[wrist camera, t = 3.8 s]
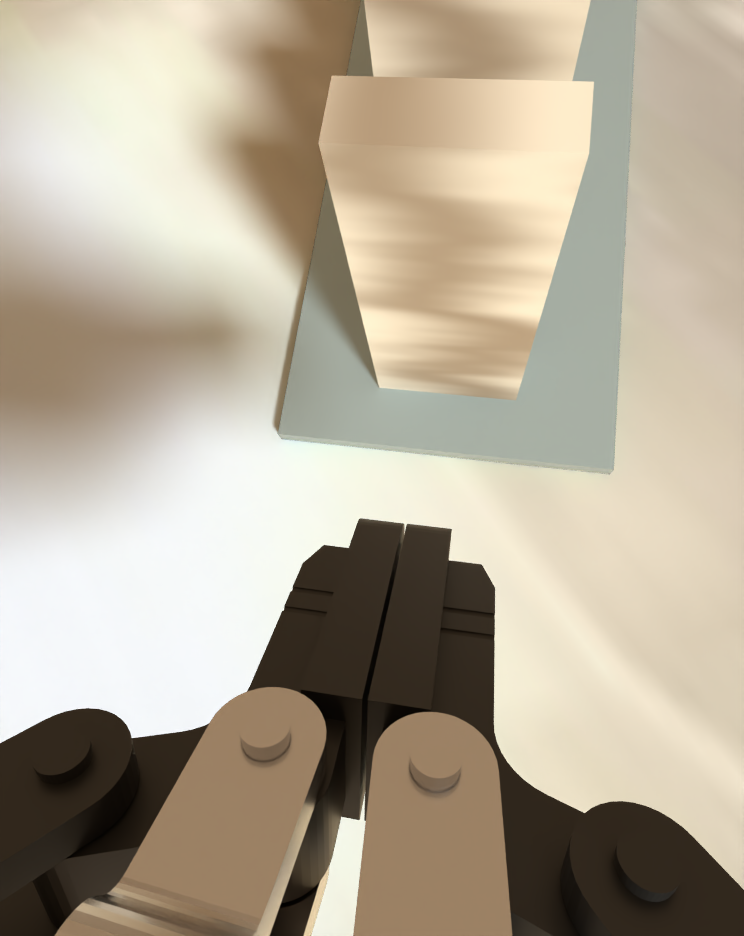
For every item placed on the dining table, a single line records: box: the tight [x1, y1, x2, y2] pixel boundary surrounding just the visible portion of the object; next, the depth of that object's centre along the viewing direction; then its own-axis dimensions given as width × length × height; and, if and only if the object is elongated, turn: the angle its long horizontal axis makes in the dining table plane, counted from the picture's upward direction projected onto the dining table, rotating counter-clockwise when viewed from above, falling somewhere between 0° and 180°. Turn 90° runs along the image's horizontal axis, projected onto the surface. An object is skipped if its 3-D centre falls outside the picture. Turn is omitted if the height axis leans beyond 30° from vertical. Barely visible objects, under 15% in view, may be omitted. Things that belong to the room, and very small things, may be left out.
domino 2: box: [318, 76, 594, 400], centre depth 18 cm, size 5×2×12 cm, turn 82°
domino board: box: [278, 0, 637, 474], centre depth 26 cm, size 12×26×1 cm, turn 172°
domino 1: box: [364, 0, 591, 81], centre depth 19 cm, size 5×2×12 cm, turn 82°
